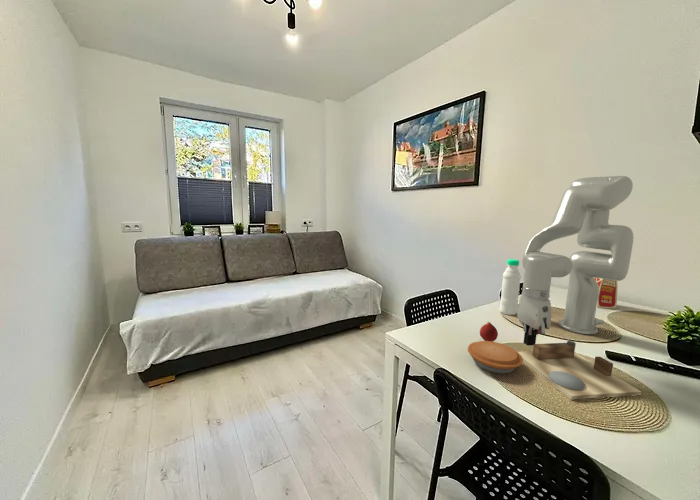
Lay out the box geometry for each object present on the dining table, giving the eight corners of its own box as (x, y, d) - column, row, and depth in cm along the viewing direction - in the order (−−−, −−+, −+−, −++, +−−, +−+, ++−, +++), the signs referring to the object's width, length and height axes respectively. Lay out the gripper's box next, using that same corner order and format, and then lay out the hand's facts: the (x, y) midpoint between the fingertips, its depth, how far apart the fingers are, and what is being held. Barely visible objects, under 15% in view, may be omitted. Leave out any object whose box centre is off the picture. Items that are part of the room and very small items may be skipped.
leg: (569, 353, 94) (571, 340, 93) (575, 357, 92) (577, 344, 91) (532, 354, 93) (533, 342, 92) (537, 358, 90) (539, 345, 90)
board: (569, 352, 97) (570, 349, 97) (640, 395, 76) (641, 391, 75) (514, 355, 95) (514, 351, 95) (570, 400, 74) (571, 395, 74)
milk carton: (597, 307, 140) (603, 267, 137) (585, 301, 149) (590, 263, 146) (618, 309, 139) (625, 268, 135) (605, 302, 148) (611, 264, 144)
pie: (457, 360, 92) (458, 346, 91) (482, 346, 101) (483, 333, 100) (506, 385, 80) (508, 368, 79) (530, 366, 89) (532, 351, 88)
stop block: (598, 368, 86) (599, 356, 86) (611, 376, 82) (613, 363, 82) (593, 368, 86) (595, 356, 85) (606, 376, 82) (608, 364, 81)
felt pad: (567, 371, 84) (567, 370, 84) (592, 389, 76) (592, 387, 76) (542, 373, 83) (542, 371, 83) (565, 390, 75) (565, 389, 75)
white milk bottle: (516, 316, 128) (522, 261, 124) (498, 313, 132) (503, 260, 128) (516, 311, 134) (522, 259, 130) (500, 308, 138) (505, 257, 133)
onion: (493, 339, 106) (495, 319, 105) (499, 347, 101) (501, 325, 99) (476, 338, 107) (478, 318, 106) (482, 346, 101) (484, 324, 100)
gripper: (564, 300, 88) (557, 355, 91) (529, 286, 103) (524, 333, 106) (542, 300, 87) (535, 356, 91) (510, 286, 102) (505, 334, 105)
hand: (529, 344), depth 98 cm, fingers closed
